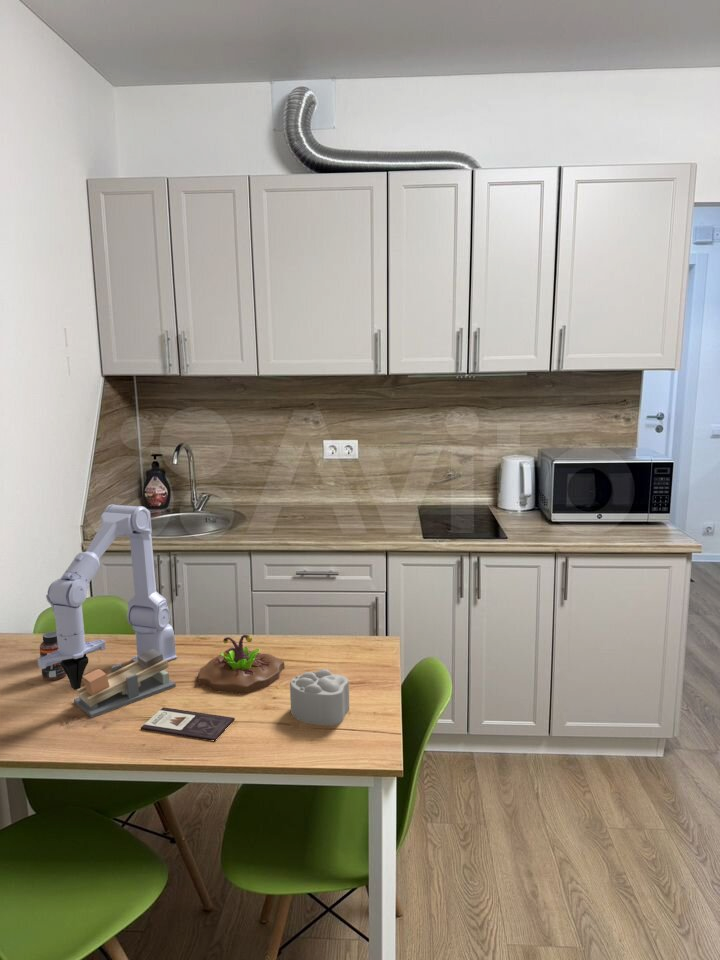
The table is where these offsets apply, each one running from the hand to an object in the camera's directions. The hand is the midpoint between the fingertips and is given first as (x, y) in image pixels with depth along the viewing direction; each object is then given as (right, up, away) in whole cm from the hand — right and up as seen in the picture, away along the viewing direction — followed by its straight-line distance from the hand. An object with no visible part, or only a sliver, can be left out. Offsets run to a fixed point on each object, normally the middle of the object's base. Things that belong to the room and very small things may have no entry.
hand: (75, 687), depth 161 cm
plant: (+35, -3, +18) cm, 39 cm away
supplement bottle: (-13, -3, +19) cm, 23 cm away
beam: (+9, -2, +9) cm, 12 cm away
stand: (+8, -4, +9) cm, 13 cm away
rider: (+4, -2, +4) cm, 6 cm away
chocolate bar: (+27, -7, -5) cm, 28 cm away
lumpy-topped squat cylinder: (+55, -6, -1) cm, 56 cm away
